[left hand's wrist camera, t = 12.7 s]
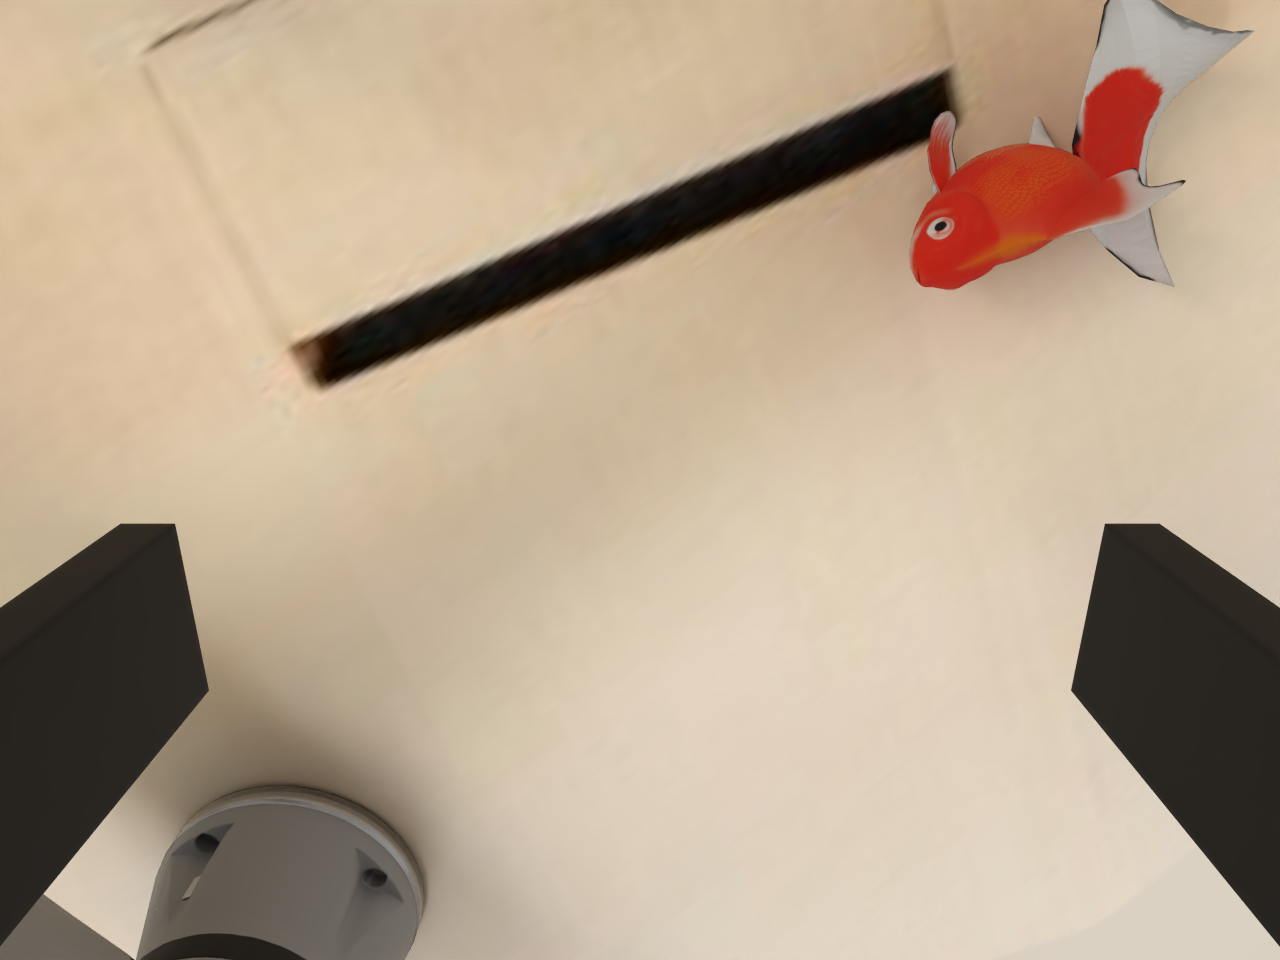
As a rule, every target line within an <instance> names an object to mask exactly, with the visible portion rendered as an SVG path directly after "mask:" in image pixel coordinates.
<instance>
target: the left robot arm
mask: <svg viewBox="0 0 1280 960" xmlns="http://www.w3.org/2000/svg"><path fill="white" fill-rule="evenodd" d="M208 691H209V689H208V684H207V679H206V674H205V669H204V664H203V659H202V654H201V649H200V644H199V640H198V635H197V630H196V625H195V620H194V615H193V610H192V605H191V600H190V595H189V590H188V585H187V581H186V576H185V571H184V566H183V561H182V556H181V551H180V546H179V541H178V536H177V531H176V526H175V524H120V525H118V526H117V527H115V528H114V529H112V530H111V531H110V532H108V533H107V534H105V535H104V536H102V537H101V538H100V539H98V540H97V541H95V542H94V543H92V544H91V545H90V546H88V547H87V548H85V549H84V550H82V551H81V552H80V553H78V554H77V555H75V556H74V557H72V558H71V559H69V560H68V561H67V562H65V563H64V564H62V565H61V566H59V567H58V568H57V569H55V570H54V571H52V572H51V573H49V574H48V575H47V576H45V577H44V578H42V579H41V580H39V581H38V582H37V583H35V584H34V585H32V586H31V587H29V588H28V589H27V590H25V591H24V592H22V593H21V594H19V595H18V596H16V597H15V598H14V599H12V600H11V601H9V602H8V603H6V604H5V605H4V606H2V607H1V608H0V960H134V959H133V958H131V957H130V956H129V955H128V954H127V953H125V952H124V951H122V950H121V949H120V948H118V947H117V946H115V945H114V944H112V943H111V942H110V941H108V940H107V939H105V938H104V937H102V936H101V935H100V934H98V933H97V932H95V931H94V930H92V929H91V928H90V927H88V926H87V925H85V924H84V923H82V922H81V921H80V920H78V919H77V918H75V917H74V916H72V915H71V914H70V913H68V912H67V911H66V910H64V909H63V908H62V907H60V906H59V905H57V904H56V903H55V902H53V901H52V900H51V899H49V898H48V897H46V896H45V895H44V894H43V893H44V892H45V891H46V890H47V889H48V887H49V886H50V885H51V884H52V882H53V881H54V880H55V879H56V877H57V876H58V875H59V874H60V873H61V871H62V870H63V869H64V868H65V866H66V865H67V864H68V863H69V862H70V860H71V859H72V858H73V857H74V855H75V854H76V853H77V852H78V850H79V849H80V848H81V847H82V846H83V844H84V843H85V842H86V841H87V839H88V838H89V837H90V836H91V835H92V833H93V832H94V831H95V830H96V828H97V827H98V826H99V825H100V823H101V822H102V821H103V820H104V819H105V817H106V816H107V815H108V814H109V812H110V811H111V810H112V809H113V808H114V806H115V805H116V804H117V803H118V801H119V800H120V799H121V798H122V796H123V795H124V794H125V793H126V792H127V790H128V789H129V788H130V787H131V785H132V784H133V783H134V782H135V780H136V779H137V778H138V777H139V776H140V774H141V773H142V772H143V771H144V769H145V768H146V767H147V766H148V765H149V763H150V762H151V761H152V760H153V758H154V757H155V756H156V755H157V753H158V752H159V751H160V750H161V749H162V747H163V746H164V745H165V744H166V742H167V741H168V740H169V739H170V738H171V736H172V735H173V734H174V733H175V731H176V730H177V729H178V728H179V726H180V725H181V724H182V723H183V722H184V720H185V719H186V718H187V717H188V715H189V714H190V713H191V712H192V711H193V709H194V708H195V707H196V706H197V704H198V703H199V702H200V701H201V699H202V698H203V697H204V696H205V695H206V693H207V692H208ZM1071 691H1072V692H1073V693H1074V695H1075V696H1076V697H1077V698H1078V699H1079V701H1080V702H1081V703H1082V704H1083V706H1084V707H1085V708H1086V709H1087V711H1088V712H1089V713H1090V714H1091V715H1092V717H1093V718H1094V719H1095V720H1096V722H1097V723H1098V724H1099V725H1100V726H1101V728H1102V729H1103V730H1104V731H1105V733H1106V734H1107V735H1108V736H1109V738H1110V739H1111V740H1112V741H1113V742H1114V744H1115V745H1116V746H1117V747H1118V749H1119V750H1120V751H1121V752H1122V753H1123V755H1124V756H1125V757H1126V758H1127V760H1128V761H1129V762H1130V763H1131V765H1132V766H1133V767H1134V768H1135V769H1136V771H1137V772H1138V773H1139V774H1140V776H1141V777H1142V778H1143V779H1144V780H1145V782H1146V783H1147V784H1148V785H1149V787H1150V788H1151V789H1152V790H1153V792H1154V793H1155V794H1156V795H1157V796H1158V798H1159V799H1160V800H1161V801H1162V803H1163V804H1164V805H1165V806H1166V808H1167V809H1168V810H1169V811H1170V812H1171V814H1172V815H1173V816H1174V817H1175V819H1176V820H1177V821H1178V822H1179V823H1180V825H1181V826H1182V827H1183V828H1184V830H1185V831H1186V832H1187V833H1188V835H1189V836H1190V837H1191V838H1192V839H1193V841H1194V842H1195V843H1196V844H1197V846H1198V847H1199V848H1200V849H1201V850H1202V852H1203V853H1204V854H1205V855H1206V857H1207V858H1208V859H1209V860H1210V862H1211V863H1212V864H1213V865H1214V866H1215V868H1216V869H1217V870H1218V871H1219V873H1220V874H1221V875H1222V876H1223V877H1224V879H1225V880H1226V881H1227V882H1228V884H1229V885H1230V886H1231V887H1232V889H1233V890H1234V891H1235V892H1236V893H1237V895H1238V896H1239V897H1240V898H1241V900H1242V901H1243V902H1244V903H1245V904H1246V906H1247V907H1248V908H1249V909H1250V911H1251V912H1252V913H1253V914H1254V916H1255V917H1256V918H1257V919H1258V920H1259V922H1260V923H1261V924H1262V925H1263V927H1264V928H1265V929H1266V930H1267V931H1268V933H1269V934H1270V935H1271V936H1272V938H1273V939H1274V940H1275V941H1276V943H1277V944H1278V945H1279V946H1280V608H1279V607H1278V606H1276V605H1275V604H1274V603H1272V602H1271V601H1269V600H1268V599H1266V598H1265V597H1264V596H1262V595H1261V594H1259V593H1258V592H1256V591H1255V590H1253V589H1252V588H1251V587H1249V586H1248V585H1246V584H1245V583H1243V582H1242V581H1241V580H1239V579H1238V578H1236V577H1235V576H1233V575H1232V574H1231V573H1229V572H1228V571H1226V570H1225V569H1223V568H1222V567H1221V566H1219V565H1218V564H1216V563H1215V562H1213V561H1212V560H1211V559H1209V558H1208V557H1206V556H1205V555H1203V554H1202V553H1200V552H1199V551H1198V550H1196V549H1195V548H1193V547H1192V546H1190V545H1189V544H1188V543H1186V542H1185V541H1183V540H1182V539H1180V538H1179V537H1178V536H1176V535H1175V534H1173V533H1172V532H1170V531H1169V530H1168V529H1166V528H1165V527H1163V526H1162V525H1160V524H1105V526H1104V531H1103V536H1102V541H1101V546H1100V551H1099V556H1098V561H1097V566H1096V571H1095V576H1094V581H1093V585H1092V590H1091V595H1090V600H1089V605H1088V610H1087V615H1086V620H1085V625H1084V630H1083V635H1082V640H1081V644H1080V649H1079V654H1078V659H1077V664H1076V669H1075V674H1074V679H1073V684H1072V689H1071ZM423 905H424V890H423V883H422V878H421V874H420V872H419V869H418V866H417V864H416V862H415V860H414V858H413V856H412V854H411V852H410V851H409V849H408V848H407V846H406V845H405V844H404V842H403V841H402V840H401V838H400V837H399V836H398V835H397V834H396V833H395V832H394V831H393V830H392V829H391V828H390V827H389V826H388V825H386V824H385V823H384V822H383V821H382V820H380V819H379V818H378V817H376V816H375V815H374V814H372V813H370V812H369V811H367V810H366V809H364V808H362V807H360V806H358V805H356V804H354V803H353V802H350V801H348V800H346V799H343V798H341V797H338V796H335V795H332V794H329V793H326V792H322V791H318V790H314V789H308V788H302V787H292V786H266V787H257V788H251V789H246V790H242V791H238V792H235V793H232V794H229V795H226V796H224V797H222V798H220V799H218V800H216V801H214V802H212V803H210V804H209V805H207V806H206V807H204V808H203V809H201V810H200V811H199V812H197V813H196V814H195V815H194V816H193V817H192V818H191V819H190V820H189V821H188V823H187V824H186V825H185V826H184V827H183V829H182V830H181V832H180V833H179V835H178V836H177V838H176V839H175V841H174V842H173V843H172V845H171V846H170V848H169V850H168V851H167V853H166V855H165V857H164V859H163V861H162V864H161V866H160V869H159V871H158V873H157V876H156V879H155V883H154V887H153V891H152V896H151V900H150V904H149V908H148V912H147V916H146V920H145V924H144V929H143V933H142V937H141V941H140V945H139V949H138V953H137V958H136V960H405V958H406V956H407V954H408V952H409V950H410V949H411V946H412V944H413V942H414V939H415V936H416V932H417V929H418V926H419V922H420V919H421V915H422V911H423Z"/></svg>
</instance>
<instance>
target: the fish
mask: <svg viewBox="0 0 1280 960" xmlns="http://www.w3.org/2000/svg"><path fill="white" fill-rule="evenodd" d="M1253 32H1254V31H1249V30H1246V31H1237V32H1231V31H1226V30H1222V29H1217V28H1212V27H1207V26H1205V25H1202V24H1200V23H1198V22H1195V21H1193V20H1190V19H1188V18H1185V17H1183V16H1180V15H1178V14H1176V13H1175V12H1173V11H1172V10H1170V9H1169V8H1167V7H1166V6H1164V5H1163V4H1161V3H1160V2H1158V1H1157V0H1107V2H1106V3H1105V5H1104V10H1103V15H1102V20H1101V26H1100V31H1099V36H1098V41H1097V46H1096V49H1095V53H1094V57H1093V60H1092V64H1091V67H1090V71H1089V74H1088V78H1087V83H1086V87H1085V91H1084V95H1083V99H1082V103H1081V108H1080V112H1079V116H1078V120H1077V125H1076V129H1075V134H1074V138H1073V142H1072V150H1073V154H1071V153H1068V152H1066V151H1063V150H1061V149H1058V148H1056V146H1055V144H1054V143H1053V141H1052V140H1051V138H1050V137H1049V135H1048V133H1047V131H1046V130H1045V127H1044V125H1043V123H1042V121H1041V119H1040V117H1035V118H1034V122H1033V126H1032V130H1031V134H1030V139H1029V144H1016V145H1009V146H1004V147H1001V148H998V149H994V150H991V151H988V152H985V153H983V154H981V155H978V156H977V157H975V158H973V159H972V160H970V161H969V162H967V163H966V164H964V165H963V166H962V167H961V168H959V169H958V170H957V171H956V164H955V159H954V154H953V148H952V146H953V138H954V133H955V129H956V118H955V116H954V115H953V113H952V111H946V112H943V113H941V114H939V116H938V117H937V118H936V119H935V120H934V123H933V126H932V129H931V138H930V143H929V147H928V150H927V152H928V161H929V169H930V173H931V175H932V178H933V181H934V184H933V188H932V192H933V194H934V197H933V198H932V199H931V200H930V201H929V202H928V203H927V204H926V206H925V208H924V210H923V212H922V214H921V216H920V218H919V220H918V222H917V224H916V227H915V229H914V232H913V236H912V239H911V244H910V267H911V270H912V273H913V275H914V277H915V279H916V281H917V282H918V283H919V284H920V285H922V286H924V287H935V288H941V289H945V290H954V289H958V288H960V287H961V286H963V285H965V284H966V283H968V282H970V281H973V280H975V279H977V278H979V277H981V276H983V275H985V274H986V273H988V272H989V271H990V270H991V269H992V268H993V267H994V266H996V265H999V264H1002V263H1005V262H1009V261H1012V260H1016V259H1018V258H1021V257H1023V256H1026V255H1028V254H1031V253H1033V252H1035V251H1037V250H1038V249H1040V248H1042V247H1043V246H1045V245H1046V244H1048V243H1049V242H1051V241H1052V240H1053V239H1056V238H1059V237H1063V236H1066V235H1069V234H1072V233H1075V232H1079V231H1082V230H1086V229H1090V230H1091V231H1092V233H1093V234H1094V236H1095V237H1096V238H1097V239H1098V240H1099V242H1100V243H1101V244H1102V245H1103V246H1104V247H1105V248H1106V249H1107V250H1108V251H1109V252H1110V253H1111V254H1113V255H1114V256H1115V257H1116V258H1117V259H1119V260H1120V261H1121V262H1122V263H1123V264H1124V265H1126V266H1127V267H1128V268H1129V269H1130V270H1132V271H1133V272H1134V273H1135V274H1136V275H1137V276H1139V277H1142V278H1145V279H1149V280H1152V281H1156V282H1159V283H1163V284H1166V285H1170V286H1174V284H1173V282H1172V280H1171V277H1170V275H1169V273H1168V271H1167V268H1166V266H1165V264H1164V261H1163V259H1162V257H1161V254H1160V252H1159V248H1158V243H1157V238H1156V234H1155V229H1154V225H1153V220H1152V216H1151V211H1150V207H1151V206H1153V205H1154V204H1156V203H1157V202H1158V201H1160V200H1161V199H1163V198H1164V197H1166V196H1167V195H1168V194H1170V193H1171V192H1173V191H1174V190H1175V189H1177V188H1178V187H1180V186H1181V185H1182V184H1184V183H1185V180H1181V181H1177V182H1173V183H1170V184H1166V185H1162V186H1153V187H1150V186H1147V173H1146V159H1147V152H1148V146H1149V142H1150V138H1151V135H1152V133H1153V130H1154V128H1155V125H1156V123H1157V121H1158V119H1159V118H1160V116H1161V114H1162V113H1163V111H1164V110H1165V108H1166V107H1167V106H1168V104H1169V103H1170V102H1171V101H1172V100H1173V99H1174V97H1175V96H1176V95H1177V94H1178V93H1179V92H1180V91H1181V90H1182V89H1183V88H1185V87H1186V86H1187V85H1188V84H1190V83H1191V82H1192V81H1194V80H1195V79H1196V78H1197V77H1199V76H1200V75H1201V74H1202V73H1204V72H1205V71H1206V70H1207V69H1209V68H1210V67H1211V66H1212V65H1214V64H1215V63H1216V62H1217V61H1219V60H1220V59H1221V58H1222V57H1223V56H1225V55H1226V54H1227V53H1228V52H1229V51H1231V50H1232V49H1233V48H1234V47H1236V46H1237V45H1238V44H1239V43H1241V42H1242V41H1243V40H1244V39H1245V38H1247V37H1248V36H1249V35H1250V34H1251V33H1253Z"/></svg>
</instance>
